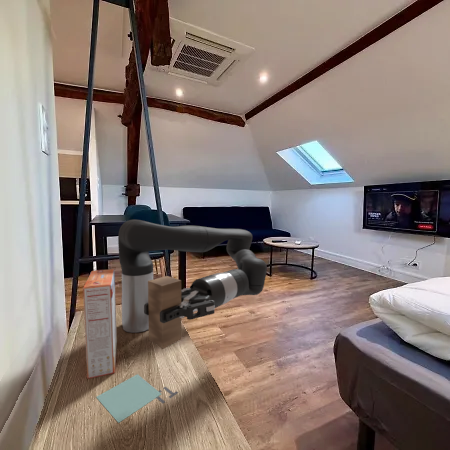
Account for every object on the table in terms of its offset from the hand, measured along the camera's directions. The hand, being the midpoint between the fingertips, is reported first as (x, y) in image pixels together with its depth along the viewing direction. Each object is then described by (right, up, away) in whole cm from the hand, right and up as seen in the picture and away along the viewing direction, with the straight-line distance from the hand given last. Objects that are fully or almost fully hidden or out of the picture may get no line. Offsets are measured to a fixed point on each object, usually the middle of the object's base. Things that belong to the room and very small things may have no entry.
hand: (153, 313), depth 48 cm
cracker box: (-16, -17, +15) cm, 28 cm away
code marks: (+1, -18, +4) cm, 18 cm away
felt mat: (-6, -18, +3) cm, 19 cm away
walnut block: (+2, -6, +3) cm, 7 cm away
